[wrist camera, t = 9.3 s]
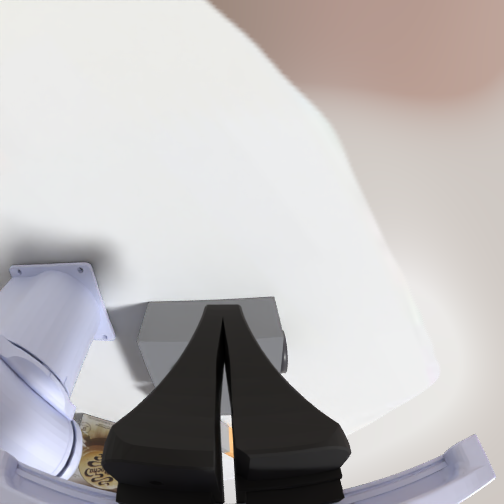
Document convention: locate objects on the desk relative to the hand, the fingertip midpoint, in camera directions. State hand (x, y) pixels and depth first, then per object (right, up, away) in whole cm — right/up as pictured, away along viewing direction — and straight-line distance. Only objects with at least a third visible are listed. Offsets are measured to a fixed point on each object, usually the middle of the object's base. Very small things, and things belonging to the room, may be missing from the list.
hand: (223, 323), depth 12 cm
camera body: (-2, -5, +13) cm, 14 cm away
